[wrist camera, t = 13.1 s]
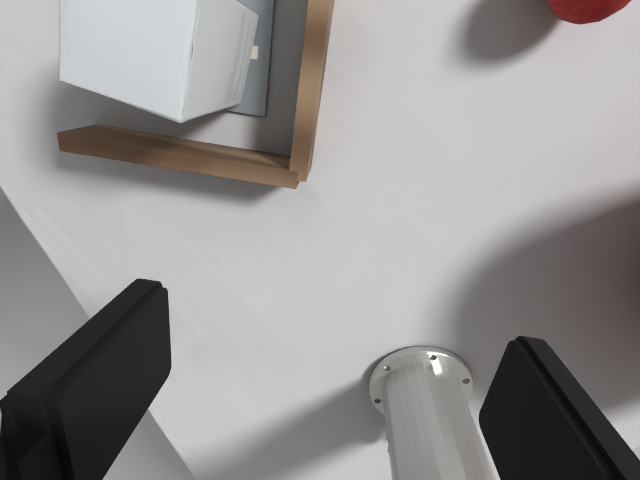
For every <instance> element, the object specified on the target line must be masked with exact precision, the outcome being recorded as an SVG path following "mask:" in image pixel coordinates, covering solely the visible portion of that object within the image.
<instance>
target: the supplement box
mask: <svg viewBox="0 0 640 480" xmlns="http://www.w3.org/2000/svg"><path fill="white" fill-rule="evenodd" d="M258 19H259V16H258V15H257V14H255V13H254V12H252V11H251V10H249V9H248V8H246V7H245V6H243V5H242V4H240V3H239V2H237V1H236V0H59V79H60V81H62V82H66V83H69V84H72V85H75V86H78V87H81V88H84V89H87V90H89V91H92V92H95V93H98V94H101V95H103V96H106V97H109V98H112V99H114V100H117V101H120V102H123V103H125V104H128V105H131V106H134V107H136V108H139V109H142V110H144V111H147V112H150V113H153V114H155V115H158V116H161V117H164V118H166V119H169V120H172V121H175V122H177V123H183V122H186V121H188V120H191V119H194V118H197V117H200V116H203V115H206V114H209V113H213V112H216V111H219V110H222V109H225V108H229V107H231V106H234V105H237V104H240V103H241V99H242V95H243V91H244V86H245V82H246V77H247V72H248V67H249V62H250V57H251V53H252V48H253V43H254V38H255V33H256V28H257V23H258Z"/></svg>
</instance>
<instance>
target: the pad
mask: <svg viewBox="0 0 640 480" xmlns="http://www.w3.org/2000/svg"><path fill="white" fill-rule="evenodd" d="M236 1H237V2H239V3H240V4H242V5H243V6H245V7H246V8H248V9H249V10H251V11H252V12H254V13H255V14H257V15H258V16H259V19H258V23H257V28H256V33H255V38H254V43H253V48H252V53H251V57H250V62H249V67H248V72H247V77H246V82H245V86H244V91H243V95H242V99H241V103H240V104H237V105H234V106H231V107H229V108H225V109H222V110H227V111H233V112H239V113H245V114H251V115H257V116H263V117H265V116H266V103H267V91H268V78H269V65H270V52H271V40H272V27H273V14H274V1H275V0H236Z"/></svg>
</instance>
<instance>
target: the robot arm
mask: <svg viewBox="0 0 640 480" xmlns="http://www.w3.org/2000/svg"><path fill="white" fill-rule="evenodd" d="M170 370H171V345H170V325H169V305H168V291H167V289H166V288H163V287H162V284H161V282H159V281H153V280H146V279H136V280H135V281H134V282H132V283H131V284H130V285H129V286H128V287H127V288H125V289H124V290H123V291H122V292H121V293H120V294H119V295H117V296H116V297H115V298H114V299H113V300H112V301H111V302H109V303H108V304H107V305H106V306H105V307H104V308H103V309H101V310H100V311H99V312H98V313H97V314H96V315H94V316H93V317H92V318H91V319H90V320H89V321H88V322H86V323H85V324H84V325H83V326H82V327H81V328H80V329H78V330H77V331H76V332H75V333H74V334H73V335H72V336H70V337H69V338H68V339H67V340H66V341H65V342H63V344H61V345H60V346H59V347H58V348H57V349H56V350H54V351H53V352H52V353H51V354H50V355H49V356H47V357H46V358H45V359H44V360H43V361H42V362H41V363H39V364H38V365H37V366H36V367H35V368H34V369H33V370H31V371H30V372H29V373H28V374H27V375H26V376H25V377H23V378H22V379H21V380H20V381H19V382H18V383H16V384H15V385H14V386H13V387H12V388H11V389H10V390H8V391H7V395H6V396H5V397H4V398H2V399H1V400H0V480H102V479H103V478H104V476H105V475H106V473H107V471H108V470H109V468H110V467H111V465H112V464H113V462H114V460H115V459H116V457H117V456H118V454H119V453H120V451H121V450H122V448H123V447H124V445H125V443H126V442H127V440H128V439H129V437H130V435H131V434H132V432H133V431H134V429H135V428H136V426H137V425H138V423H139V422H140V420H141V418H142V417H143V415H144V414H145V412H146V410H147V409H148V407H149V406H150V404H151V403H152V401H153V400H154V398H155V397H156V395H157V393H158V392H159V390H160V389H161V387H162V386H163V384H164V382H165V381H166V379H167V378H168V376H169V373H170ZM472 393H473V380H472V376H471V374H470V372H469V369H468V368H467V366H466V365H465V363H464V362H463V361H462V360H461V359H460V358H458V357H457V356H456V355H454V354H452V353H450V352H448V351H445V350H443V349H440V348H434V347H424V346H419V347H410V348H406V349H402V350H399V351H397V352H394V353H392V354H390V355H389V356H387V357H385V358H384V359H383V360H382V361H381V362H379V363H378V364H377V366H376V367H375V368H374V370H373V371H372V374H371V376H370V380H369V394H370V398H371V401H372V403H373V405H374V406H375V408H376V409H377V410H378V411H379V412H380V413H381V414H383V415H384V416H385V423H386V431H387V440H388V453H389V456H390V465H391V473H392V480H496V478H495V475H494V473H493V470H492V467H491V465H490V462H489V459H488V457H487V454H486V452H485V449H484V446H483V444H482V441H481V438H480V436H479V433H478V430H477V428H476V425H475V422H474V420H473V417H472V415H471V412H470V409H469V407H468V402H469V401H470V399H471V396H472ZM479 424H480V428H481V430H482V433H483V436H484V438H485V441H486V443H487V446H488V448H489V451H490V454H491V456H492V459H493V461H494V464H495V466H496V469H497V471H498V474H499V477H500V479H501V480H640V460H639V459H638V458H637V456H636V455H635V454H634V452H633V451H632V450H631V449H630V447H629V446H628V445H627V444H626V442H625V441H624V440H623V439H622V437H621V436H620V435H619V433H618V432H617V431H616V430H615V428H614V427H613V426H612V425H611V423H610V422H609V421H608V420H607V418H606V417H605V416H604V414H603V413H602V412H601V411H600V409H599V408H598V407H597V406H596V404H595V403H594V402H593V401H592V399H591V398H590V397H589V395H588V394H587V393H586V392H585V390H584V389H583V388H582V387H581V385H580V384H579V383H578V382H577V380H576V379H575V378H574V377H573V375H572V374H571V373H570V371H569V370H568V369H567V368H566V366H565V365H564V364H563V363H562V361H561V360H560V359H559V358H558V356H557V355H556V354H555V352H554V351H553V350H552V349H551V347H550V346H549V345H548V344H547V342H546V341H544V340H542V339H538V338H531V337H525V336H518V337H517V338H516V339H515V340H512V341H510V342H509V343H508V345H507V347H506V350H505V352H504V355H503V357H502V360H501V362H500V364H499V367H498V369H497V372H496V374H495V376H494V379H493V381H492V384H491V386H490V389H489V391H488V393H487V396H486V398H485V401H484V403H483V405H482V408H481V410H480V413H479Z"/></svg>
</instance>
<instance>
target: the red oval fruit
mask: <svg viewBox="0 0 640 480" xmlns="http://www.w3.org/2000/svg"><path fill="white" fill-rule="evenodd" d="M547 1H548V4H549V7H550V9H551V10H552V11H553V13H554V14H555V15H556V16H557V17H558V18H559V19H560V20H564V21H567V22H570V23H574V24H586V23H592V22H598V21H601V20H603V19H605V18H607V17H609V16H610V15H612V14H614V13H615V12H617V11H619V10H621V9H622V8H624V7H625V6H626V5H627V4H628V3H629V2H630V1H631V0H547Z"/></svg>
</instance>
